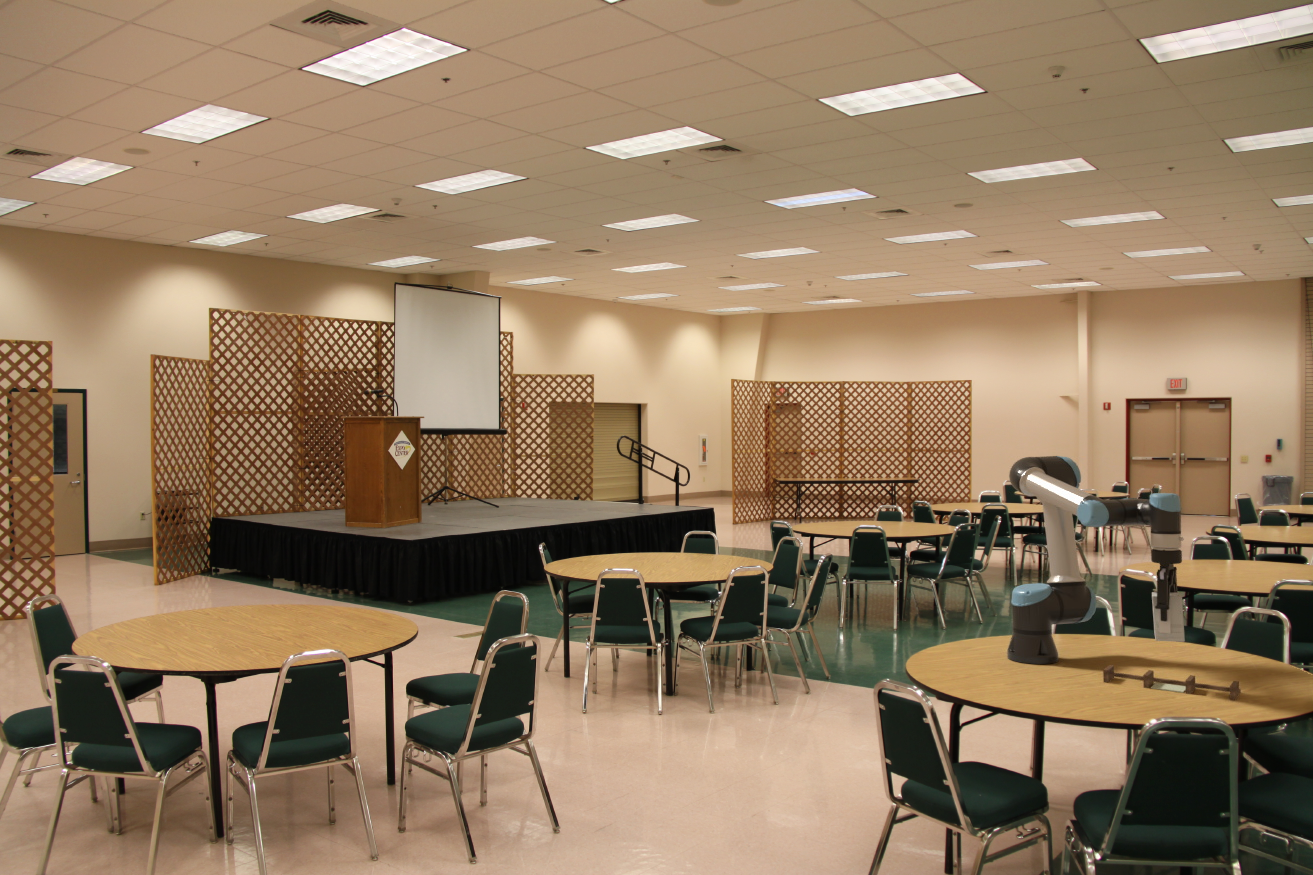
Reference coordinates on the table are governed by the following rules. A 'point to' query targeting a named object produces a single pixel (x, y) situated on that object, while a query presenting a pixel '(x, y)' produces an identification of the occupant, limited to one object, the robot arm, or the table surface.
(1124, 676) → the notch rail
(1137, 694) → the table surface
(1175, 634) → the supplement box
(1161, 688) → the pad
